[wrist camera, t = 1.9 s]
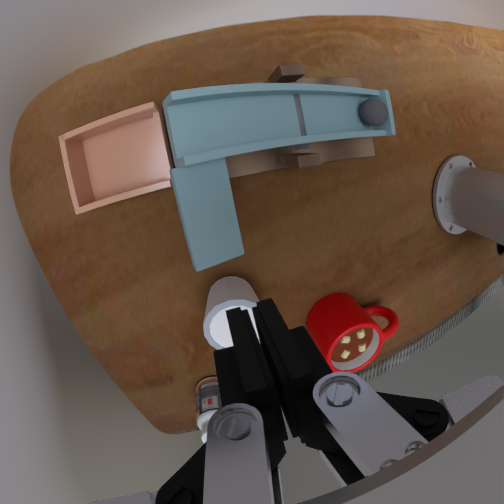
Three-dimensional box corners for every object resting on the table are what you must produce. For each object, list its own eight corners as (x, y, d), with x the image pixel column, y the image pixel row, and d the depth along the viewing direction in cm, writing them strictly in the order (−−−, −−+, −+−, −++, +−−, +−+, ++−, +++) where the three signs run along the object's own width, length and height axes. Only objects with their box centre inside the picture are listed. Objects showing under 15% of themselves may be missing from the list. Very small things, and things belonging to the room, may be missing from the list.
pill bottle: (189, 381, 38) (188, 433, 29) (223, 370, 38) (229, 422, 29) (206, 402, 40) (209, 452, 31) (239, 392, 40) (247, 442, 31)
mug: (380, 319, 40) (407, 348, 33) (310, 346, 39) (328, 382, 32) (379, 275, 37) (411, 301, 30) (302, 303, 36) (323, 338, 29)
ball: (373, 100, 25) (391, 97, 22) (378, 126, 26) (396, 125, 23) (351, 100, 24) (368, 96, 22) (356, 127, 26) (374, 125, 23)
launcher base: (359, 78, 28) (399, 63, 20) (372, 155, 31) (415, 159, 23) (164, 101, 26) (148, 82, 18) (182, 188, 29) (172, 200, 22)
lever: (362, 90, 26) (387, 85, 23) (377, 200, 31) (402, 204, 28) (154, 97, 17) (164, 81, 14) (193, 267, 21) (209, 282, 18)
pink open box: (162, 109, 26) (153, 101, 22) (176, 181, 29) (170, 186, 24) (79, 138, 25) (58, 136, 21) (94, 205, 28) (75, 214, 24)
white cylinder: (196, 278, 33) (194, 308, 27) (253, 265, 34) (264, 292, 27) (211, 325, 36) (213, 360, 29) (263, 313, 36) (274, 346, 29)
